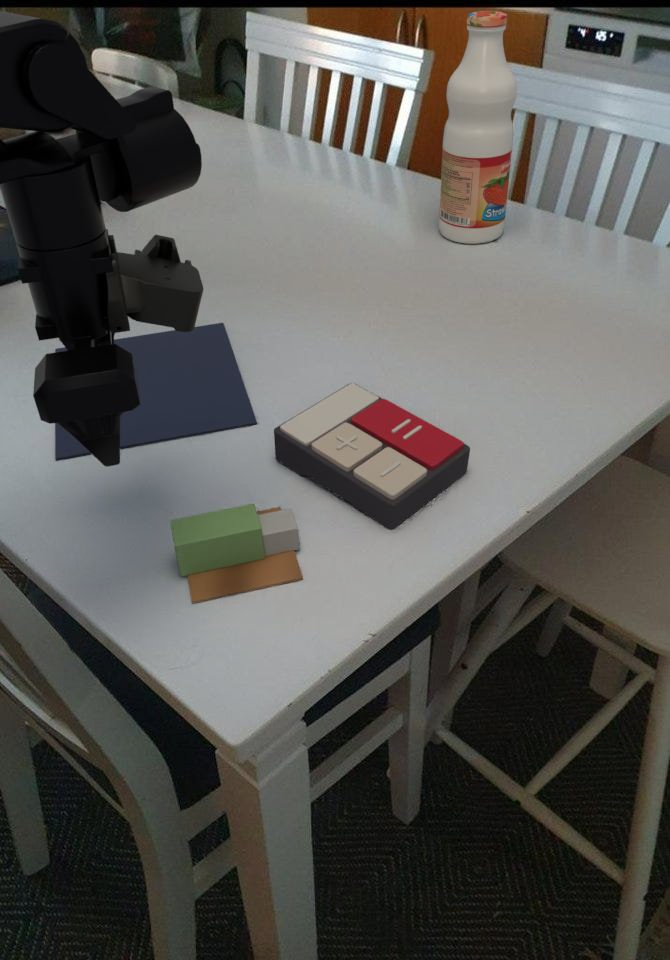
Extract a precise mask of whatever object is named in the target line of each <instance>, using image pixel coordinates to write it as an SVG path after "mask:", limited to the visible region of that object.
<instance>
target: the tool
mask: <svg viewBox="0 0 670 960" xmlns="http://www.w3.org/2000/svg"><path fill="white" fill-rule="evenodd" d="M169 522H170V526H171V527H170V528H171V534H172V541H173V546H174V552H175V555H176V560H177V565H178V569H179V574H180V576H181V577H185V576H187V575H190V574H195V573H200V572H204V571H209V570H214V569H218V568H223V567H228V566H233V565H237V564H242V563H247V562H251V561H256V560H261V559H265V556H268V555H273V554H278V553H283V552H287V551H292V550H294V551H297V550H301V549H300V537H299V527H298V524H297V521H296V519H295V515H294V513H293V510H292V508H286V509H281V510H280V511H275V512H270V513H265V514H261V515H257V507H256V505H255V503H249V504H245V505H240V506H234V507H228V508H224V509H220V510H219V509H218V510H215V511H209V512H205V513H199V514H194V515H190V516H184V517H179V518H175V519H171V520H170V521H169Z"/></svg>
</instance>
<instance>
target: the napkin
mask: <svg viewBox="0 0 670 960" xmlns="http://www.w3.org/2000/svg"><path fill="white" fill-rule="evenodd" d="M227 332H228V331H227V329H226V326H225V323H224V322H217V323H212V324H205V325H199V326H195V327H194V330H193V331H190V332H180V331H176V330H175V329H173V330H172V329H171V330H167V331H161V332H160V331H159V332H154V333H148V334H141V335H135V336H128V337H122V338H114V344H117V345H118V346H120V347H122V348H123V349H125V350H127V351H128V352H130V353H132V355H133V360H134V365H135V369H136V375H137V381H138V388H139V396H140V405H139V406H137V407H136V408H135V409H133V410H132V411H127V412H124V413H122V415H121V416H120V450H123V449H129V448H133V447H139V446H145V445H150V444H156V443H161V442H167V441H171V440H172V441H173V440H177V439H178V440H179V439H183V438H184V439H185V438H188V437H189V438H190V437H194V436H199V435H205V434H210V433H215V432H223V431H226V430H233V429H238V428H243V427H250V426H254V425H258V421H257V419H256V415H255V412H254V409H253V406H252V403H251V401H250V397H249V395H248V391H247V389H246V386H245V383H244V380H243V376H242V374H241V370H240V367H239V365H238V362H237V359H236V356H235V353H234V350H233V347H232V344H231V342H230V338H229V335H228V333H227ZM62 351H68V350H67V349H66V348H65V346H64V347H58V348H55V349H54V353H56V352H62ZM54 428H55V429H54V444H55V445H54V449H55V450H54V455H55V456H54V458H55V461H61V460H66V459H67V460H68V459H72V458H73V459H74V458H78V457H85V456H89V455H92V454H91V453H90V452H89V451H88V450H87V449H86V448H85V447H84V446H83V445H82V444H81V443H80V442H79V441H78V440H77V439H76V438H74V437H73V436H72V435H71V434H70V433H69V432H67V431H66V430H65V429H64V428H63V427H61V426H60V425H59V424H58V423H54Z"/></svg>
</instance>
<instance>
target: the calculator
mask: <svg viewBox="0 0 670 960" xmlns="http://www.w3.org/2000/svg"><path fill="white" fill-rule="evenodd" d="M273 440H274V454H275V455H274V456H275V459H276V460H277V461H278V462H279V463H281V464H283V465H284V466H285V467H287V468H288V469H290V470H291V471H293V472H294V473H296V474H298V475H299V476H308V477H309V478H310V479H313V480H314V481H316V482H317V483H318V484H319V485H322V486H323V487H325V488H326V489H328V490H329V491H331V492H332V493H334V494H335V495H337V496H338V497H340V498H341V499H343V500H345V501H346V502H347V503H349V504H350V505H352V506H354V507H355V508H356V509H358V510H359V511H361V512H363V513H364V514H366V515H367V516H369V517H370V518H372V519H373V520H374V521H377V522H378V523H380V525H382V526H384V527H386V528H387V529H390V530H394V529H395V528H397V527H398V526H400V525H401V524H402V523H403V522H405V521H406V520H407V519H409V518H410V517H411V516H412V515H414V514H415V513H416V512H418V511H419V510H420V509H421V508H422V507H424V506H425V505H426V504H428V503H430V502H431V500H433V499H434V498H436V497H437V496H438V495H440V494H441V493H442V492H444V491H445V490H446V489H447V488H449V487H450V486H451V485H452V484H454V483H455V482H456V481H458V480H459V479H461V477H463V476H464V475H466V473H467V472H468V466H469V459H470V452H471V447H470V445H468V444H466V443H465V442H464V441H463V440H461V439H459V438H458V437H456V436H454V435H452V434H450V433H448V432H446V431H445V430H443V429H441V428H440V427H437V426H435V425H434V424H433V423H430V422H428V421H426V420H424V419H423V418H421V417H419V416H417V415H415V414H414V413H412V412H410V411H408V410H406V409H405V408H402V407H401V406H399V405H397V404H395V403H394V402H392V401H390V400H388V399H385V398H383V397H380V396H378V395H377V394H375V393H373V392H371V391H369V390H368V389H366V388H364V387H363V386H361V385H358V384H357V383H355V382H350V383H348V384H346V385H344V386H343V387H341V388H340V389H338V390H337V391H335V392H333V393H331V394H330V395H328V396H327V397H324V398H323V399H322V400H321V399H320V401H318V402H317V403H314V404H312V405H311V406H310V407H308V408H306V409H304V410H303V411H301V412H300V413H298V414H296V415H294V416H293V417H291V418H289V419H288V420H286V421H285V422H283V423H281V424H280V425H277V427H275V428H274V429H273Z"/></svg>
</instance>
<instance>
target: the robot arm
mask: <svg viewBox="0 0 670 960" xmlns="http://www.w3.org/2000/svg"><path fill="white" fill-rule="evenodd" d="M173 98H174V97H173V93H172V92H171V90H169V89H165V88H160V87H156V86H151V85H150V86H147V87H145V88H140V89H138V90H135V91H134V92H133V93H131V94H129V95H128V96H124V97H120V98H115V97H114V96H113V94H112V93H111V92H110V91H109V90H108V89H107V88H106V86H104V85H103V84H102V82H101V81H100V80H99V78H97V77H96V76H95V74H94V73H93V72H92V71H91V70H90V69H89V68H88V65H87V59H86V55H85V54H84V52H83V50H82V48H81V46H80V44H79V41H77V39H76V38H75V37H74V36H73V35H72V34H71V32H70V31H69V29H68V27H67V26H66V25H64V24H62V23H60V22H58V21H56V20H52V19H45V18H41V17H35V16H30V15H24V14H19V13H13V12H9V11H8V12H7V11H2V10H0V128H1V129H10V130H18V131H19V130H20V131H31V132H29V133H25V134H21V135H17V136H14V137H10V138H7V139H4V140H2V139H1V138H0V193H1V196H2V199H3V203H4V206H5V209H6V213H7V216H8V221H9V224H10V226H11V230H12V234H13V237H14V240H15V244H16V248H17V251H18V254H19V256H18V263H17V271H18V274H19V279H20V281H21V284H22V285H24V284H27V285H28V289H29V292H30V294H31V300H32V302H33V307H34V309H35V323H34V328H35V332H36V336H37V338H38V342H40V341H45V340H46V341H47V340H52V339H58V340H59V342H61V344H62V345H63V346H64V347H65V348H66V349H67V350H68V351H62V352H56V353H55V352H49V353H45V355H43V357H42V358H41V360H40V361H39V362H38V363H37V365H36V366H35V368H34V377H33V380H34V381H33V392H32V393H33V394H32V396H33V399H34V404H35V406H36V409H37V412H38V415H39V419H40V421H43V422H44V423H47V424H55V423H58V424H59V425H60V426H61V427H63V428H64V429H65V430H66V431H67V432H69V433H70V434H71V435H72V436H73V437H74V438H76V439H77V440H78V441H79V442H80V443H81V444H82V445H83V446H84V447H85V448H86V449H87V450H88V451H89V452H90V453H91V454H90V455H92V456H94V458H95V459H97V461H98V462H100V463H101V465H103V466H104V467H107V468H108V467H114V466H118V465H120V463H121V449H120V416H121V415H122V413H124V412H127V411H132V410H133V409H135V408H136V407H137V406H139V405H140V396H139V388H138V381H137V375H136V369H135V365H134V360H133V355H132V353H130V352H128V351H127V350H125V349H123V348H122V347H120V346H118V345H117V344H114V340H115V334H117V333H119V334H120V333H124V332H125V333H126V332H130V331H131V325H130V320H129V318H130V319H131V320H133V321H135V322H139V323H143V324H148V325H149V324H150V325H156V326H161V327H167V328H173V330H176V331H180V332H190V331H193V330H194V327H196V323H197V318H198V315H199V310H200V306H201V301H202V298H203V293H204V285H203V282H202V278H201V274H200V271H199V269H198V268H197V267H195V266H194V265H193V264H192V260H189V259H184V262H182V261H181V258H180V254H179V251H178V247H177V245H176V240H175V238H173V237H169V236H164V235H160V234H154V235H153V236H152V237H151V239H150V240H149V241H148V243H147V244H146V245H145V246H144V247H143V249H142V250H141V249H134V254H133V253H127V252H120V251H118V250H117V246H116V241H115V236H114V234H110V233H109V229H108V228H106V224H105V219H104V215H103V209H102V203H101V202H104V203H106V204H107V206H109V207H111V208H112V209H113V210H115V211H117V212H119V213H127V212H130V211H133V210H136V209H138V208H141V207H144V206H146V205H148V204H151V203H154V202H157V201H160V200H162V199H164V198H168V197H170V196H172V195H175V194H179V193H180V192H183V191H185V190H188V189H190V188H192V187H194V186H195V185H196V184H197V183H198V181H199V179H200V177H201V175H202V174H201V173H202V166H203V163H202V151H201V147H200V145H199V143H197V141H196V138H195V136H194V133H193V131H192V129H191V127H190V125H189V124H188V123H187V121H186V120H185V118H184V117H183V115H181V114H180V113H179V112H178V111H177V109H176V108H175V106H174V99H173ZM67 129H71V130H74V131H75V133H74V134H70V135H66V136H63V137H59V138H55V137H54V136H53V135H50V134H49V133H59V132H61V131H65V130H67Z"/></svg>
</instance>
